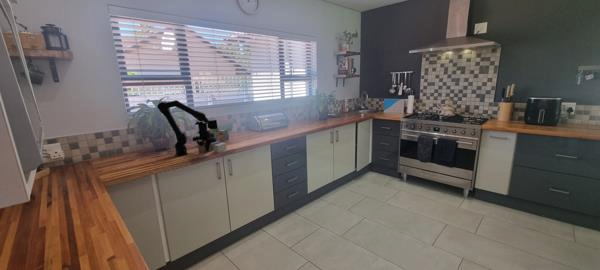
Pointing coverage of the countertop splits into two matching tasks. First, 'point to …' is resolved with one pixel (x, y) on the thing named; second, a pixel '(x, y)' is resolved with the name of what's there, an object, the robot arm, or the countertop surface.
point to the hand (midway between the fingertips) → (205, 150)
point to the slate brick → (214, 144)
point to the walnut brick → (204, 149)
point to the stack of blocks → (219, 134)
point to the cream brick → (220, 147)
